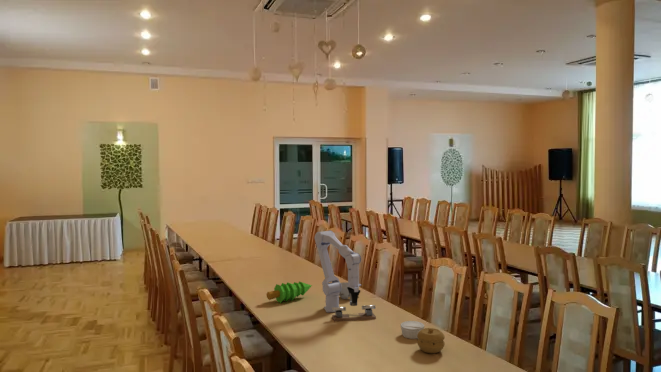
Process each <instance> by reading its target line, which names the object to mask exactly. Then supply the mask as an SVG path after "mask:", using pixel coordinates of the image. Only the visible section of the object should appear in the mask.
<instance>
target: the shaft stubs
mask: <svg viewBox="0 0 661 372" xmlns="http://www.w3.org/2000/svg"><path fill="white" fill-rule="evenodd" d="M375 309H376V304H369V305H361V310H364V313H365V314H366V316H372V312H373V310H375ZM346 310H347V308H346V306H339V307H332V311H335V312H334V313H335V314H334V315H335V316H336V318H342V314H343V312H345V311H346Z"/></svg>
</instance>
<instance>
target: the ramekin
mask: <svg viewBox="0 0 661 372" xmlns="http://www.w3.org/2000/svg"><path fill="white" fill-rule="evenodd" d="M400 329H401V334H402V336H403V338H406V339H408V340H409V339H411V340H418V339H419V338H418V337H417V334H418V332H419V331H420V330H422V329H425V324H424V323H422V322H421V321H416V320H407V321H406V320H405V321H403V322H401V323H400Z"/></svg>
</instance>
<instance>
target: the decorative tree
mask: <svg viewBox="0 0 661 372" xmlns="http://www.w3.org/2000/svg"><path fill="white" fill-rule="evenodd" d="M312 287H313V285H311V284H308V283H305V282H302V281H298V282H295V281H294V282H293V283H292V282H286V283H283V282H282V283H281V284H277V283H276V285H275V286H274V288H273V290H271V291H267V293H265V295H266V298H267V300H269V301H271V300H274V299H275V300H276V301H278V303H279V302H280V303H279V304H281V303H282V302H287V301H293V300H294V299H296V297H299V296H300V295H301V296H304V295H305V294H306V293H307V292H308V291H309V289H311V288H312Z"/></svg>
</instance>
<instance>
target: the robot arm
mask: <svg viewBox="0 0 661 372" xmlns="http://www.w3.org/2000/svg"><path fill="white" fill-rule="evenodd" d="M314 241H315V245H316V248H317V249H316V250H317V252H318V256H319V261H320V264H321V269H322V272H323V276H324V279H323V280H322V282H321V284H322V292H323V294H324V295H325V306H323V308H324V310H325V312H326V313H335V311H332V307H340V298H339V297H340V296H339V294H340V292H341V290H342V285H341V283H342V282H341V281H340V279H339V277H337V276H336V275H335V273H334V270H333V265H332V261H331V258H330V255H329V251H328V247H329V246H330V245H332V246H333V247H334V248H336V249H337V250H338V254H339V255H340V256H341V257H342V258H344V259H345V263H346V268H347V282H348V287H347V289H348V291H349V294H350V293H351V297H352V303H357V304H358V299H359V298H358V296H359V295H360V294H361V290H360V287H362V284H361V283H360V263H362V257H361V255H360V253H359V252H355V251H353V250H352V249H351V248H350V247H349V245H347V244H343V243H342V242H341V241H340V240H339V239H338V238H337V237H336V233H335V232H334V231H333V230H331V229H330V230H326V231H325V230H323V231H317V232H316V233H315V234H314ZM358 288H359V290H358ZM359 297H360V296H359Z"/></svg>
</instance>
